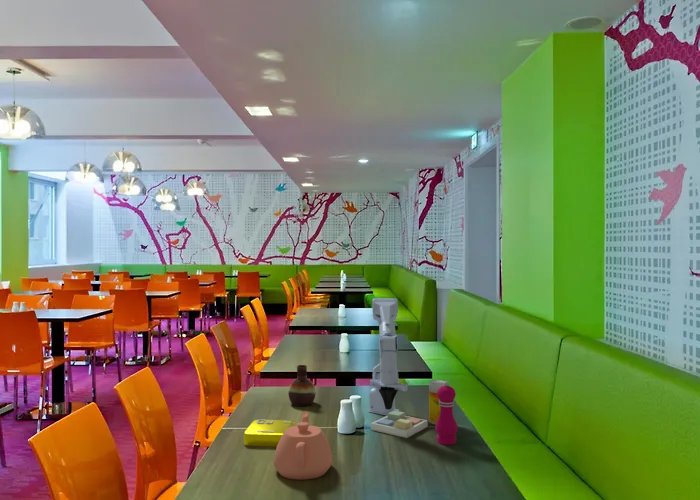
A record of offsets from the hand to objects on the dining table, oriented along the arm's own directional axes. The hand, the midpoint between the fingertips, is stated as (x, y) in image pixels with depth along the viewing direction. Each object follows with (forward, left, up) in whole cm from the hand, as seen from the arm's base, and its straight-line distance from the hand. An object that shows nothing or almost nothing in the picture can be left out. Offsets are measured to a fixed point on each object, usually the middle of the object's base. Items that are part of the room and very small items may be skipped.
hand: (388, 408), depth 198 cm
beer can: (+10, +17, -8) cm, 21 cm away
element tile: (-28, -30, -8) cm, 42 cm away
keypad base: (+2, +4, -8) cm, 9 cm away
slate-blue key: (-1, 0, -7) cm, 7 cm away
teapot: (-2, -43, -8) cm, 44 cm away
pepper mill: (+22, +1, -8) cm, 23 cm away
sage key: (-1, +7, -6) cm, 9 cm away
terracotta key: (+6, +7, -7) cm, 11 cm away
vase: (-46, +7, -8) cm, 47 cm away
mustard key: (+6, 0, -6) cm, 8 cm away
